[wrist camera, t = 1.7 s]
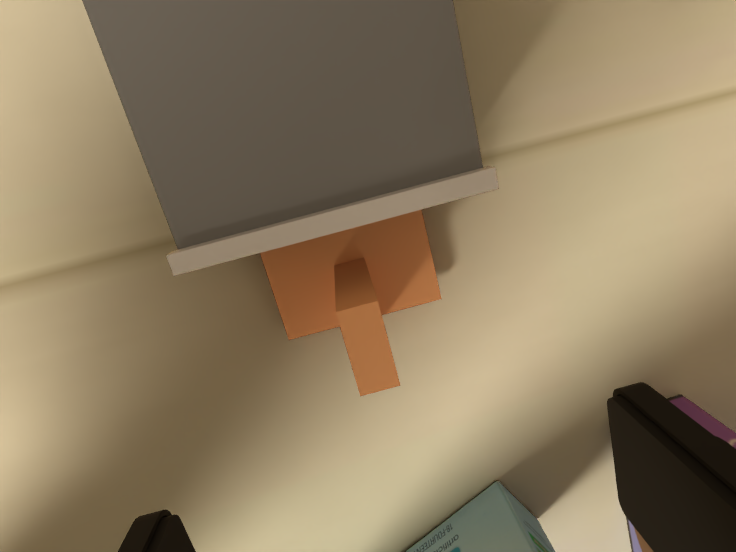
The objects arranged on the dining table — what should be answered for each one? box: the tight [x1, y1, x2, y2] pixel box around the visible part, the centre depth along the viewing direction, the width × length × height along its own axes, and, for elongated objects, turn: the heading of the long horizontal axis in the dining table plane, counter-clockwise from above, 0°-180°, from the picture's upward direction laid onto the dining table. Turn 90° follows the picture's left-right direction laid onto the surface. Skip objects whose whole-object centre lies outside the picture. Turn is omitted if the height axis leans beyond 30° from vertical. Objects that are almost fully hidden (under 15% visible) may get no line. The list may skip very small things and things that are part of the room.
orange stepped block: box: [260, 210, 441, 396], centre depth 19 cm, size 16×8×8 cm, turn 14°
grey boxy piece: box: [82, 0, 499, 276], centre depth 19 cm, size 16×12×8 cm
